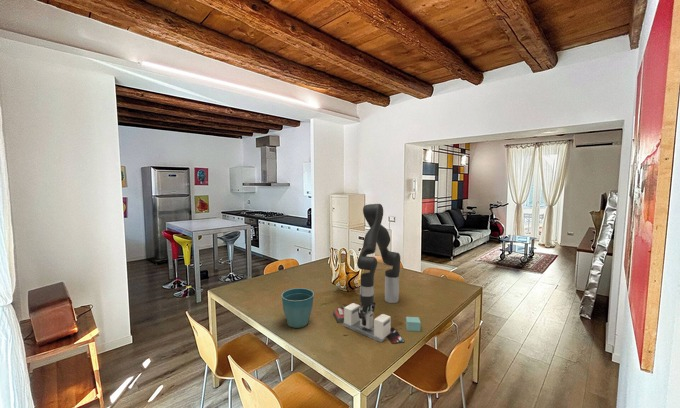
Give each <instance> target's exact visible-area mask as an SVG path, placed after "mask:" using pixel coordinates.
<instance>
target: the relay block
mask: <svg viewBox="0 0 680 408" xmlns="http://www.w3.org/2000/svg"><path fill="white" fill-rule="evenodd" d="M421 325H422V323H421V320H420V317H418V316H406V317H405V326H406V331H408V332H421V331H422V330H421V328H422V327H421Z"/></svg>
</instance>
